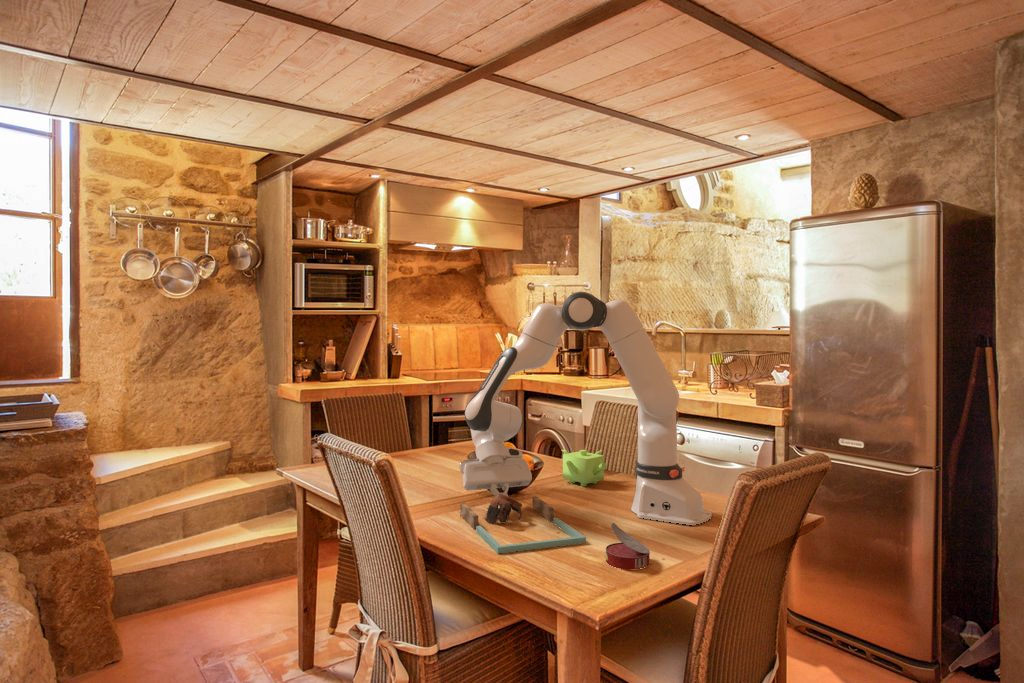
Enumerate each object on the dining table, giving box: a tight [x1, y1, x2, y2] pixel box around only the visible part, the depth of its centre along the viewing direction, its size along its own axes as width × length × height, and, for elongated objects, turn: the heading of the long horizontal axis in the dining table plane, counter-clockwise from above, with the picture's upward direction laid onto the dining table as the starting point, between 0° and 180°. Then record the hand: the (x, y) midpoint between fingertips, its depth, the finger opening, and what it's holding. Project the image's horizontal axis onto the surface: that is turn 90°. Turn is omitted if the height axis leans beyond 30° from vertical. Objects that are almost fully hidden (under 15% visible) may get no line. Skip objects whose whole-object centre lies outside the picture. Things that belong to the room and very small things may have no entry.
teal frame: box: [475, 517, 587, 555], centre depth 166 cm, size 17×23×2 cm
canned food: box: [605, 522, 651, 570], centre depth 150 cm, size 11×10×10 cm
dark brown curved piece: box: [484, 494, 523, 525], centre depth 179 cm, size 12×10×8 cm
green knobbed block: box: [561, 449, 608, 488], centre depth 223 cm, size 15×14×11 cm
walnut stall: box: [459, 496, 555, 530], centre depth 182 cm, size 13×23×4 cm, turn 110°
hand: (502, 499), depth 185 cm, fingers closed
